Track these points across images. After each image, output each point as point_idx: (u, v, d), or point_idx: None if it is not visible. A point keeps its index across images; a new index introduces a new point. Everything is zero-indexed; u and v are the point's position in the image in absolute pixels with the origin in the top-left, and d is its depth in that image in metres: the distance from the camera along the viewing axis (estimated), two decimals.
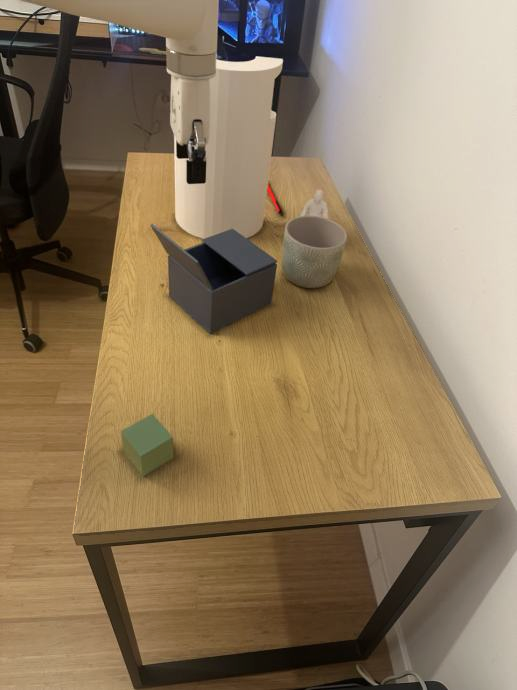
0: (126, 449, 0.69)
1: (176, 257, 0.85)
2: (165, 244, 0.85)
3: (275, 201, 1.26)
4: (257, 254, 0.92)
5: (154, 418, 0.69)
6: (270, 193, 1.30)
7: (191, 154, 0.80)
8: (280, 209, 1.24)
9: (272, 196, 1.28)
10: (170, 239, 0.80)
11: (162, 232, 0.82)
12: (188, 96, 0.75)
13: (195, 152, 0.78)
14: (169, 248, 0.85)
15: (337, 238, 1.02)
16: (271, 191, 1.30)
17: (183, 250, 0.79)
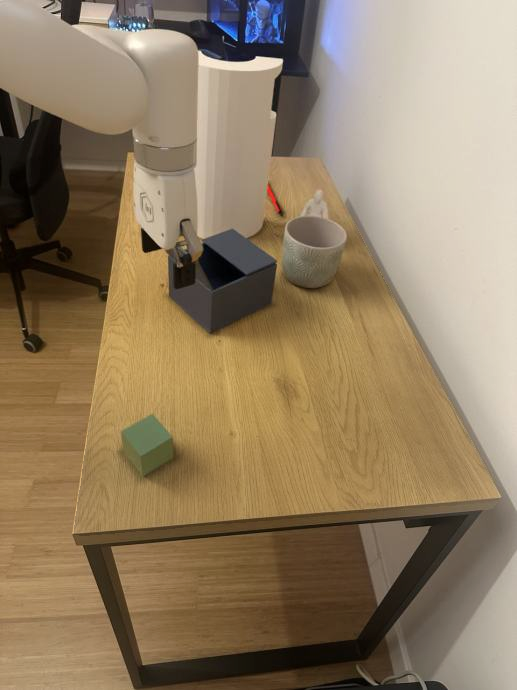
0: (126, 449, 0.69)
1: None
2: None
3: (275, 201, 1.26)
4: (257, 254, 0.92)
5: (154, 418, 0.69)
6: (270, 193, 1.30)
7: (180, 258, 0.65)
8: (280, 209, 1.24)
9: (272, 196, 1.29)
10: None
11: None
12: (174, 196, 0.60)
13: (189, 258, 0.64)
14: None
15: (337, 238, 1.02)
16: (271, 191, 1.30)
17: (183, 250, 0.79)
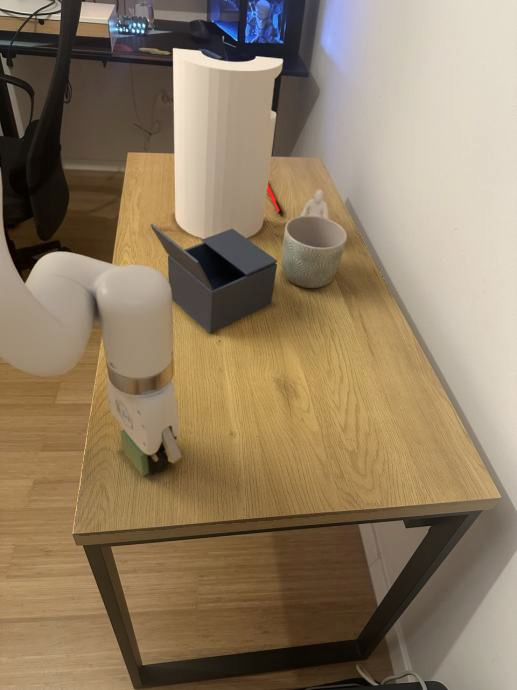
0: (126, 449, 0.69)
1: (176, 257, 0.85)
2: (165, 244, 0.85)
3: (275, 201, 1.26)
4: (257, 254, 0.92)
5: None
6: (270, 193, 1.30)
7: (156, 456, 0.65)
8: (280, 209, 1.24)
9: (272, 196, 1.29)
10: (170, 239, 0.80)
11: (162, 232, 0.82)
12: (154, 414, 0.57)
13: (165, 458, 0.63)
14: (169, 248, 0.85)
15: (337, 238, 1.02)
16: (271, 191, 1.30)
17: (183, 250, 0.79)
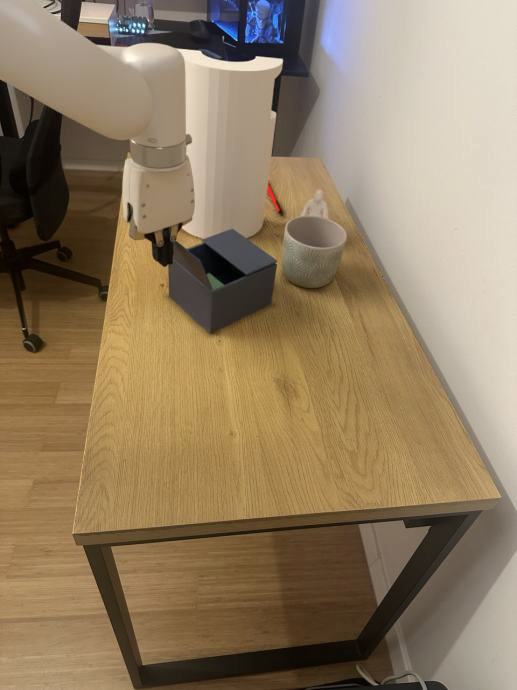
0: None
1: (176, 257, 0.86)
2: None
3: (275, 201, 1.26)
4: (257, 254, 0.92)
5: (211, 275, 0.94)
6: (270, 193, 1.30)
7: None
8: (280, 209, 1.24)
9: (272, 196, 1.29)
10: None
11: None
12: (124, 177, 0.69)
13: None
14: None
15: (337, 238, 1.02)
16: (271, 191, 1.30)
17: (185, 249, 0.79)
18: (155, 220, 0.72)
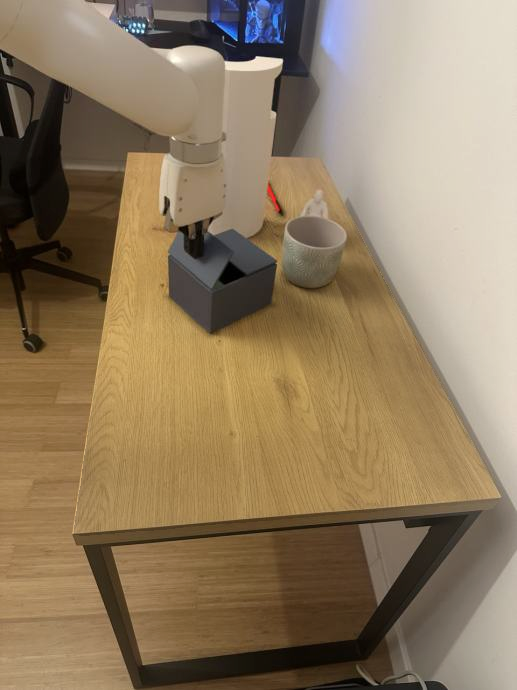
0: None
1: (186, 253, 0.87)
2: None
3: (275, 201, 1.26)
4: (257, 254, 0.92)
5: None
6: (270, 193, 1.30)
7: None
8: (280, 209, 1.24)
9: (272, 196, 1.29)
10: None
11: None
12: (162, 172, 0.72)
13: None
14: None
15: (337, 238, 1.02)
16: (271, 191, 1.30)
17: (219, 240, 0.83)
18: (190, 213, 0.76)
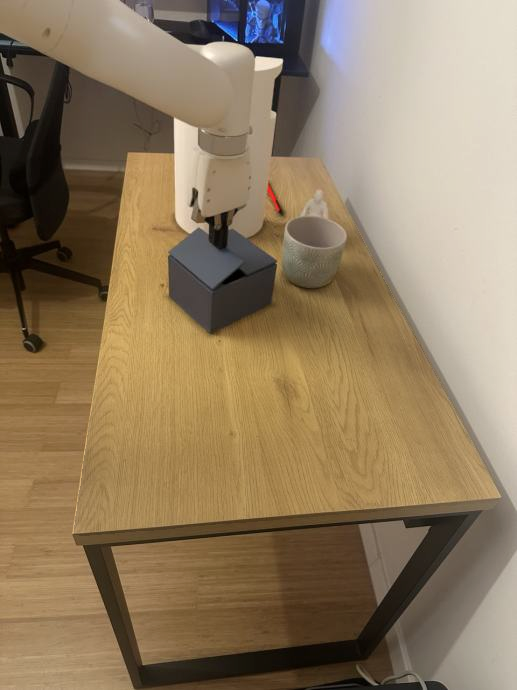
0: None
1: (190, 256, 0.88)
2: (192, 243, 0.89)
3: (275, 200, 1.26)
4: (257, 254, 0.92)
5: None
6: (270, 193, 1.30)
7: None
8: (280, 208, 1.24)
9: (272, 195, 1.29)
10: None
11: None
12: (191, 164, 0.75)
13: None
14: (194, 247, 0.88)
15: (337, 238, 1.02)
16: (271, 190, 1.30)
17: None
18: (217, 204, 0.78)
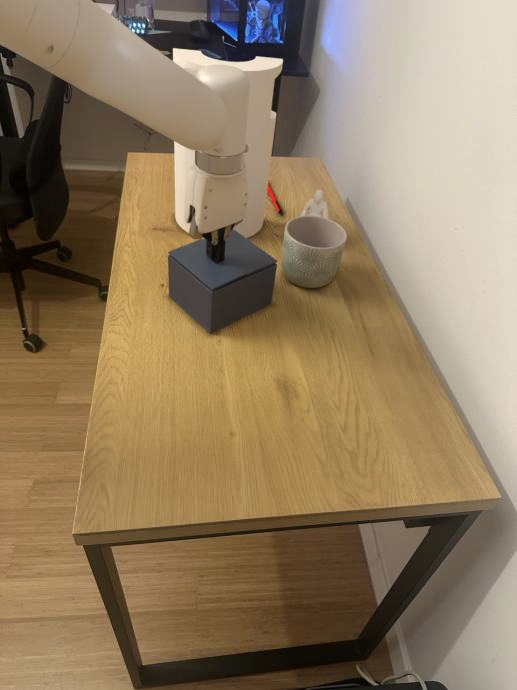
0: None
1: (191, 259, 0.88)
2: (194, 250, 0.90)
3: (275, 201, 1.26)
4: (257, 254, 0.92)
5: None
6: (270, 193, 1.30)
7: None
8: (280, 209, 1.24)
9: (272, 196, 1.29)
10: None
11: None
12: (189, 182, 0.77)
13: None
14: (195, 253, 0.90)
15: (337, 238, 1.02)
16: (271, 191, 1.31)
17: (232, 263, 0.89)
18: (214, 220, 0.80)
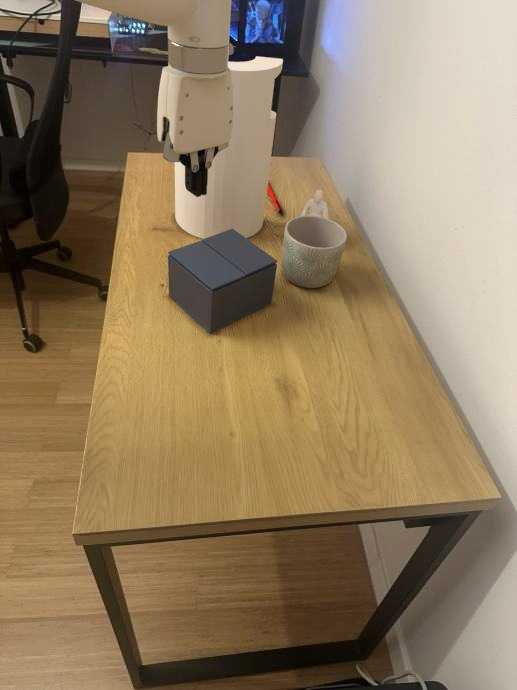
0: None
1: (191, 259, 0.88)
2: (194, 251, 0.90)
3: (275, 201, 1.26)
4: (257, 254, 0.92)
5: None
6: (270, 193, 1.30)
7: None
8: (280, 208, 1.24)
9: (272, 196, 1.29)
10: None
11: None
12: (161, 87, 0.63)
13: None
14: (195, 254, 0.90)
15: (337, 238, 1.02)
16: (271, 191, 1.31)
17: (232, 265, 0.89)
18: (193, 138, 0.67)
